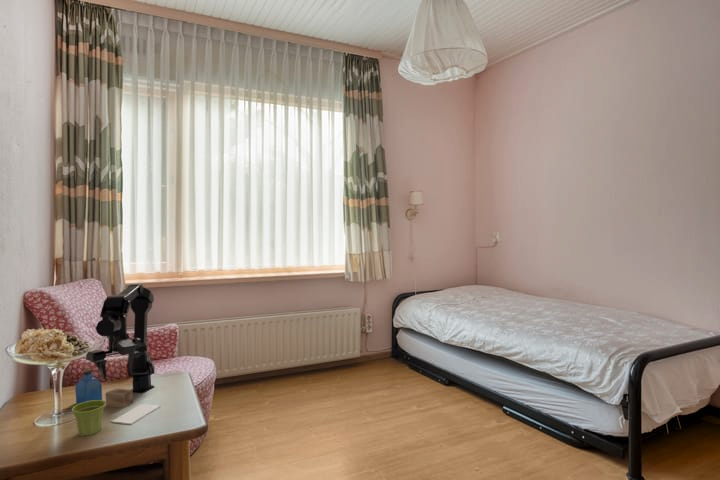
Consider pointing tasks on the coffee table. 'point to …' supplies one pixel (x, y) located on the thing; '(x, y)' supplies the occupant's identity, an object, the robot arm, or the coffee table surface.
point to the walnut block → (119, 398)
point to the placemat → (136, 414)
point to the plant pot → (89, 416)
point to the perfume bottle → (88, 388)
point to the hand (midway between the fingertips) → (118, 375)
